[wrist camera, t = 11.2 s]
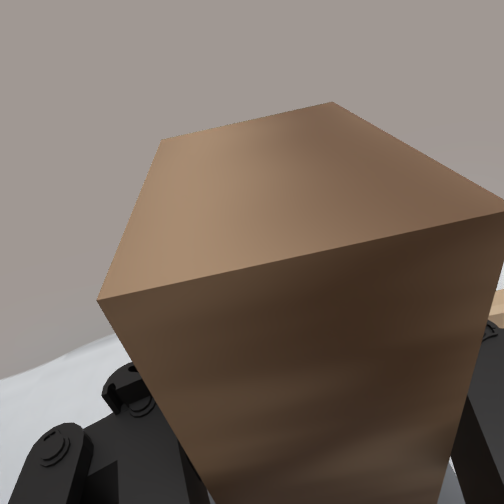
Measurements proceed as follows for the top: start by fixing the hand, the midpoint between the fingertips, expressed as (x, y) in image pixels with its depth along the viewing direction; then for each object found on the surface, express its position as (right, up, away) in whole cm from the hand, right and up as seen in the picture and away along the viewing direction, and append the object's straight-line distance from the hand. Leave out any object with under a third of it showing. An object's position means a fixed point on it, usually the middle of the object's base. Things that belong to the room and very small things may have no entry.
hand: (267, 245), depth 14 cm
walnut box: (+2, -10, 0) cm, 10 cm away
